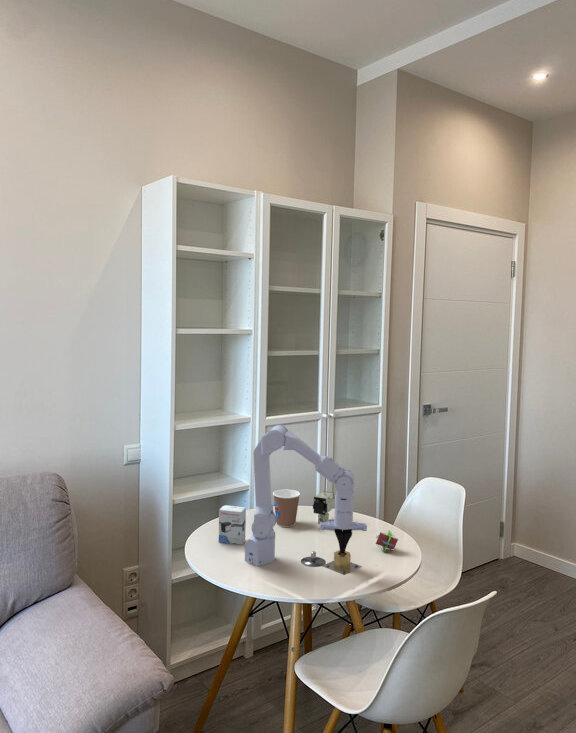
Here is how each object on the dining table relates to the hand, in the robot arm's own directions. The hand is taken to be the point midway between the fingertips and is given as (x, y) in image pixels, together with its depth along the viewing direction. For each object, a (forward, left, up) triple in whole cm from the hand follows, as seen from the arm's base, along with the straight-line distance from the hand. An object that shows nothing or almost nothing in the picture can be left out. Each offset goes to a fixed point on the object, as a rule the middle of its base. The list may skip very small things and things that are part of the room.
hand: (342, 552), depth 189 cm
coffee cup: (+16, +40, -6) cm, 43 cm away
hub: (0, 0, -6) cm, 6 cm away
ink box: (-10, +41, -6) cm, 43 cm away
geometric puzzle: (+23, -1, -6) cm, 24 cm away
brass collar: (0, 0, -5) cm, 5 cm away
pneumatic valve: (+28, +31, -6) cm, 42 cm away
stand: (-4, +8, -6) cm, 11 cm away
